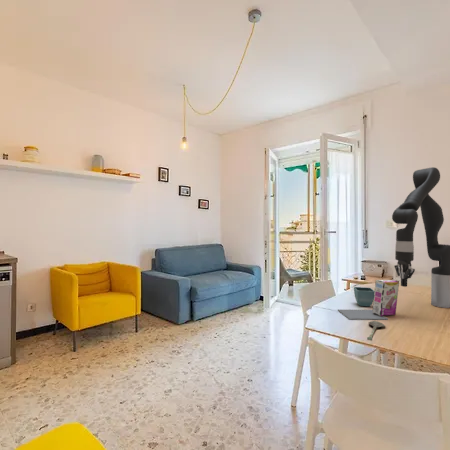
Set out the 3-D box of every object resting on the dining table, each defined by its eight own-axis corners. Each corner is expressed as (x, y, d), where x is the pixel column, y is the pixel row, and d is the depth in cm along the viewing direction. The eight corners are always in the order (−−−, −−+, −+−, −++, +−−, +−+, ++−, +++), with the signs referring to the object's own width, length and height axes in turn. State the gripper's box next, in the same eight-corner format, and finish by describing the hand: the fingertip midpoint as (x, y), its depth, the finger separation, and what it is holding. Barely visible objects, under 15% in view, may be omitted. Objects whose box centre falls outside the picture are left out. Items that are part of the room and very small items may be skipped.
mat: (373, 310, 149) (373, 309, 149) (388, 320, 135) (388, 318, 135) (337, 310, 149) (337, 309, 149) (349, 319, 135) (349, 318, 135)
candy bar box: (381, 316, 138) (384, 282, 137) (371, 313, 142) (374, 279, 142) (396, 315, 142) (399, 281, 142) (387, 312, 147) (389, 279, 147)
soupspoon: (386, 328, 128) (370, 325, 132) (386, 320, 128) (369, 318, 132) (378, 343, 110) (359, 339, 114) (378, 333, 110) (359, 330, 114)
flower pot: (375, 308, 154) (375, 291, 154) (357, 307, 156) (357, 290, 156) (370, 303, 163) (370, 287, 162) (353, 302, 164) (353, 286, 164)
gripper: (421, 252, 135) (420, 289, 135) (403, 249, 148) (403, 283, 148) (405, 251, 135) (404, 289, 135) (389, 249, 148) (388, 283, 148)
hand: (403, 286), depth 142 cm, fingers closed
